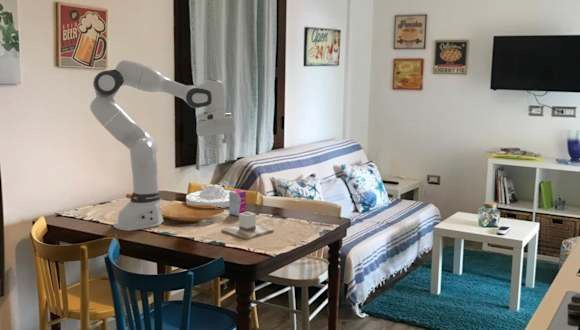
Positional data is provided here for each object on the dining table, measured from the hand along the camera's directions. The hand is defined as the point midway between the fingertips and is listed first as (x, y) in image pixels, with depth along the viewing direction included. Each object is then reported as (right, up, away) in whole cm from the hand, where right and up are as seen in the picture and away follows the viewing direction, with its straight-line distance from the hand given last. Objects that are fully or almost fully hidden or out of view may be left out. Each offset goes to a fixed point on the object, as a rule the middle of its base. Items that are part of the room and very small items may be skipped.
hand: (216, 144), depth 293 cm
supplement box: (+9, -34, +7) cm, 36 cm away
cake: (-5, -29, +32) cm, 44 cm away
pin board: (+16, -39, -20) cm, 46 cm away
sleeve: (+16, -38, -20) cm, 45 cm away
